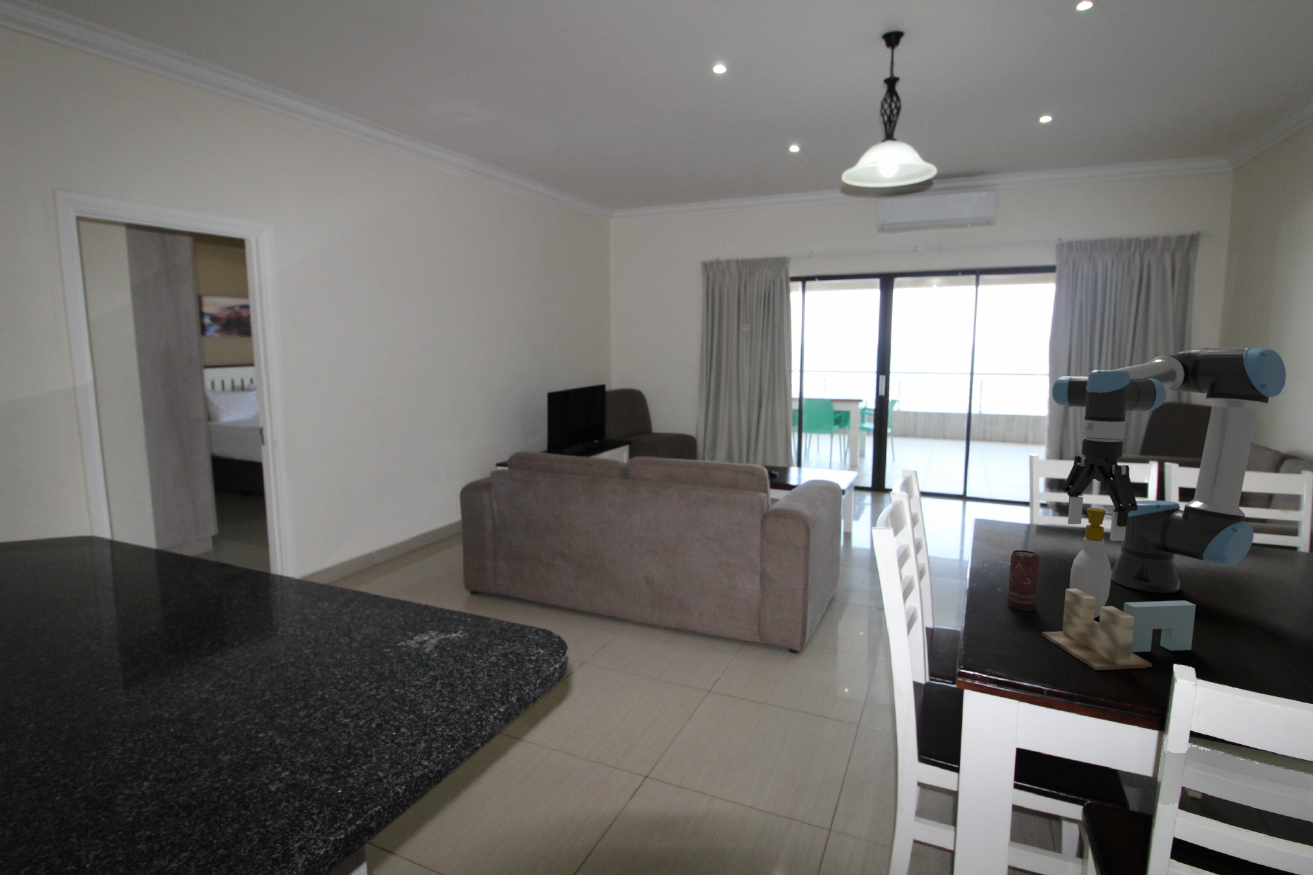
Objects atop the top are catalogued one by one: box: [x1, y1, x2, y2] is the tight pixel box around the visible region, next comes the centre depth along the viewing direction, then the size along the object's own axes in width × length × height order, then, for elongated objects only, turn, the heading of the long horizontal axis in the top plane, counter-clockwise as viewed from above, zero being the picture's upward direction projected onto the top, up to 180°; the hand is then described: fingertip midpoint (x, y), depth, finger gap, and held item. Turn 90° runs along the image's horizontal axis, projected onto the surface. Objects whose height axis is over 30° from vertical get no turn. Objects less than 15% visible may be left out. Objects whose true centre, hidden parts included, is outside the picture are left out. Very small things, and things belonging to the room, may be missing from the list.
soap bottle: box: [1069, 507, 1112, 619], centre depth 155 cm, size 14×9×26 cm, turn 140°
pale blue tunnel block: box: [1123, 600, 1197, 653], centre depth 137 cm, size 14×2×10 cm, turn 94°
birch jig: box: [1041, 588, 1153, 671], centre depth 136 cm, size 16×12×11 cm
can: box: [1007, 549, 1041, 612], centre depth 160 cm, size 6×6×14 cm
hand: (1094, 531), depth 146 cm, fingers open, 13 cm apart
